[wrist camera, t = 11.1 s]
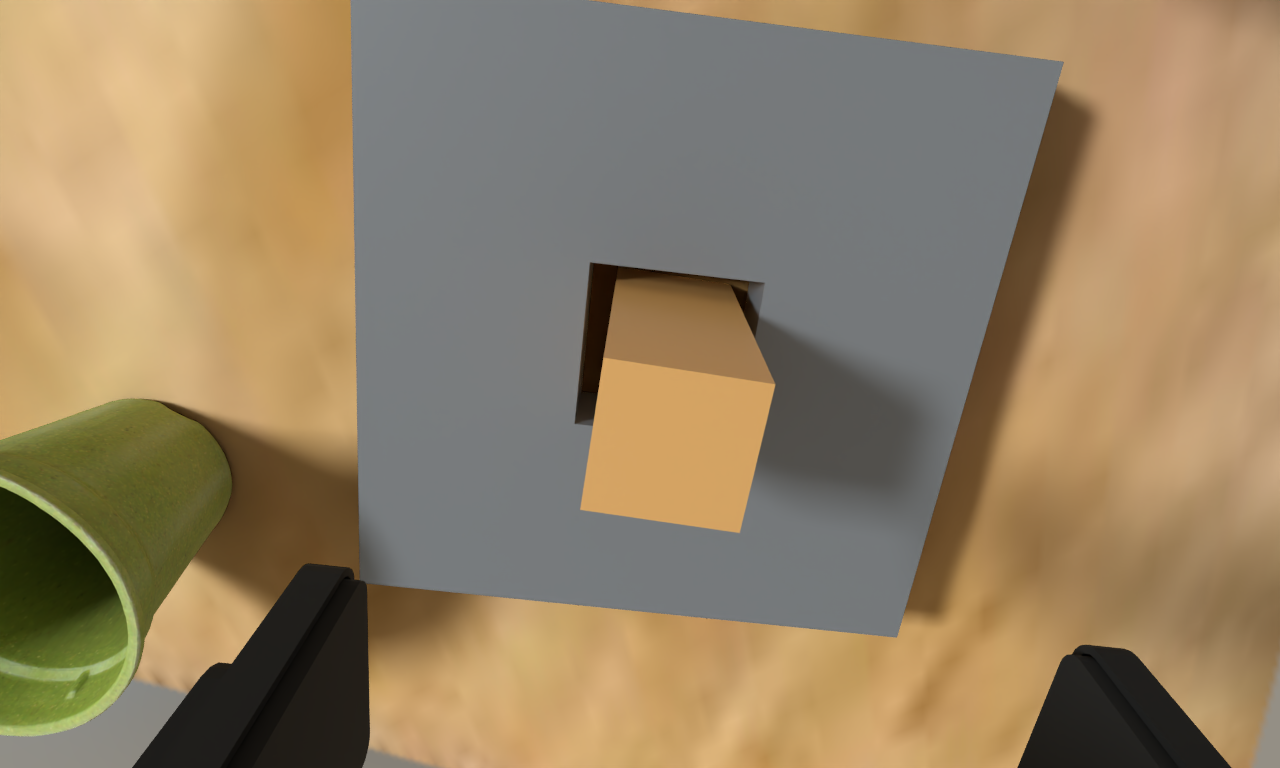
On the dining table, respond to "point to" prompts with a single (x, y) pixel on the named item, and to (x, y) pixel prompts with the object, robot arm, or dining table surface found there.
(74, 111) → the dining table surface
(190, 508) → the plant pot
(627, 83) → the socket plate
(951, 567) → the dining table surface
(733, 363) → the plug
